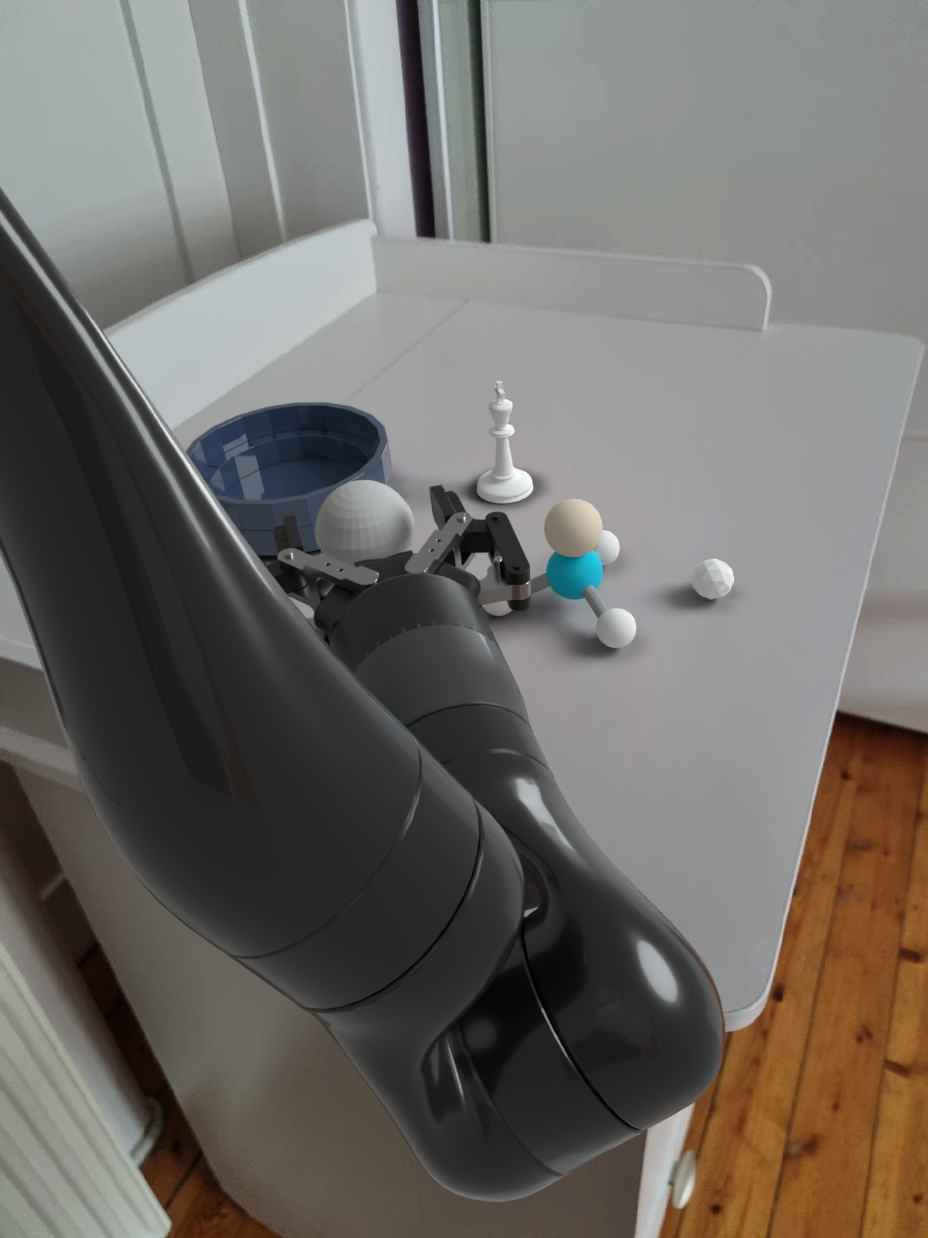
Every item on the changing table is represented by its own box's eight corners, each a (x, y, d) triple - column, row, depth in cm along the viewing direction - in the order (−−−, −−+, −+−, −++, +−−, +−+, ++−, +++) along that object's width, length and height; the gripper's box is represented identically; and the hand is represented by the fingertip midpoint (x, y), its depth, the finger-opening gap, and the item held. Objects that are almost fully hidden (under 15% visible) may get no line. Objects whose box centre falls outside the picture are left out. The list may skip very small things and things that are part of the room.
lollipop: (380, 638, 68) (349, 453, 58) (449, 662, 65) (428, 472, 56) (328, 691, 64) (285, 501, 54) (399, 719, 61) (368, 525, 52)
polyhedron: (696, 610, 68) (700, 576, 66) (686, 585, 70) (689, 552, 68) (736, 606, 68) (740, 572, 66) (724, 581, 70) (728, 548, 68)
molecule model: (677, 643, 65) (686, 537, 59) (512, 682, 63) (506, 576, 58) (611, 550, 74) (614, 450, 69) (466, 582, 72) (457, 482, 67)
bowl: (277, 588, 73) (262, 529, 70) (158, 514, 83) (140, 459, 80) (435, 493, 83) (429, 437, 79) (311, 437, 93) (301, 385, 89)
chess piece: (486, 508, 80) (479, 400, 74) (470, 481, 84) (461, 375, 78) (541, 496, 81) (538, 388, 75) (522, 469, 85) (518, 364, 78)
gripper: (580, 594, 41) (478, 431, 53) (253, 670, 39) (226, 481, 51) (579, 717, 46) (486, 541, 58) (288, 791, 43) (255, 591, 56)
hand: (364, 513), depth 55 cm, fingers open, 8 cm apart
